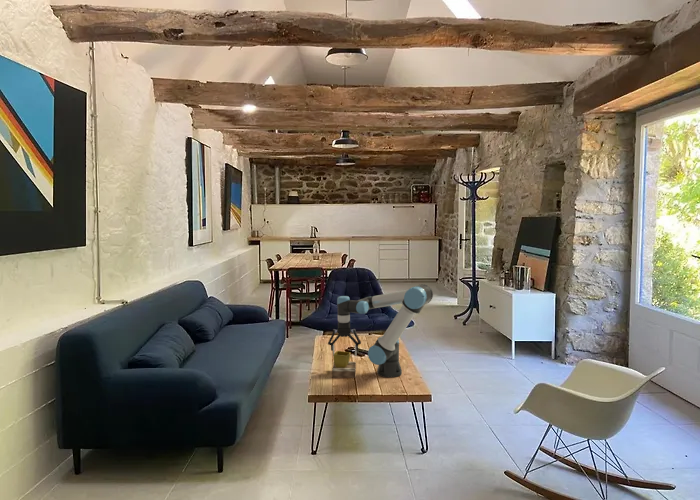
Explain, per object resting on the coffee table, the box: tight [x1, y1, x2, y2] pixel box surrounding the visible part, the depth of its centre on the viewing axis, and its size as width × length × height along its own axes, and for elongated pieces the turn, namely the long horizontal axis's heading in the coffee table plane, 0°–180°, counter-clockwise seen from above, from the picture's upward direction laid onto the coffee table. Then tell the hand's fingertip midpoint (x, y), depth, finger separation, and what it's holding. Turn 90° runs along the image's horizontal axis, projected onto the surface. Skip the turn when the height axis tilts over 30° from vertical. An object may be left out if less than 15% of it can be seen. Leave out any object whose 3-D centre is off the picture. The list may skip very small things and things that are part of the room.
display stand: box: [331, 361, 357, 379], centre depth 301 cm, size 14×14×6 cm
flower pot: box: [332, 350, 351, 368], centre depth 300 cm, size 9×9×9 cm
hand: (344, 355), depth 300 cm, fingers open, 13 cm apart
